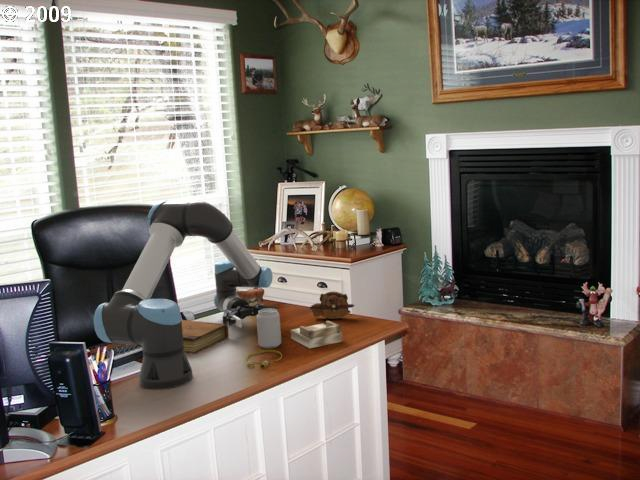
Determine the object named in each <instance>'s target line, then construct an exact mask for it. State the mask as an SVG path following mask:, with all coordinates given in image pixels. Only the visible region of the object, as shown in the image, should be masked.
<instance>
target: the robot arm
mask: <svg viewBox="0 0 640 480" xmlns="http://www.w3.org/2000/svg"><path fill="white" fill-rule="evenodd" d="M147 218H148V220H147V223H146V225H147V228H148V233H149V235H150V236H149V238H148V240H147V242H146V244H145V246H144V248H143V249H142V251H141V253H140V255H139V258H138V259H137V261H136V263H135V264H134V267H133V269H132V270H131V272H130V274H129V277H128V278H127V279H126V281H125V284H124V286H123V288H122V289H121V290H118V291H116V292H114V294H113V295H112V298H111V299H110V301H109V302H103V303H101V304H99V305H98V306H97V308H96V309H95V312H94V315H93V325H94V326H93V327H94V331H95V333H96V336H97V338H99V340H101V341H102V342H104V343H111V344H114V345H117V344H123V345H140V346H142V348H141V349H142V356H143V357H142V361H141V367H140V370H139V375H138V376H139V377H138V378H139V385H140V386H141V387H143V388H145V389H150V390H151V389H152V390H162V389H170V388H176V387H179V386H181V385H184V384H187V383H189V382H190V381H192V379H193V376H194V374H193V368H192V366H191V364H190V362H189V359H188V357H187V356H186V353H185V352H184V344H183V332H182V320H183V317H182V314H181V308H180V306H179V304H178V303H177V302H175V301H174V300H171V299H166V298H152V296H153V293H154V291H155V289H156V287H157V285H158V283H159V281H160V279H161V277H162V275H163V273H164V271H165V269H166V267H167V264H168V263H169V260H170V259H171V257H172V254H173V253H174V250H175V248H179V247H181V246H182V245H183V243H184V241H185V239H186V237H203V238H205V239H207V241H208V242H209V243H212V244H215V246H216V247H217V248H218V249H219V250H220V251H221V253H222V254H223V256H225V258H226V259H227V260H220V261H217V262H215V264H214V278H215V291H216V292H215V295H214V297H213V304H214V306H215V307H216V308H217V309H218V311H220V312H222V313H223V315H222V324H227V323H228V326H233V325H235V326H236V327H238V328H242V327H243V326H242V320H244V319H245V318H247V317H250V316H251V317H255V316H257V315H258V311H259V310H262V309H268V308H273V309H276V310H277V311H278V306H273V305H264V304H263V305H261V303H258V304H256V303H255V304H256V306H254V305H250V303H249V302H248V301H245V300H244V299H242V298H240V297H237V292H236V290H237V289H238V288H252V289H253V288H254V289H259V288H262V289H264V288H270V286H271V285H272V283H273V279H274V278H273V271H272V269H271V268H270V267H268V266H267V267H266V266H261V265H260V264H259V263H258V262H257V260H256V259H255V257H254V256H253V255H252V253H251V252H250V250H249V249H248V248H247V247H246V245H245V244H244V242H242V240H241V239H240V237H239V236H238V234H236V232H235V230H234V225H233V223H232V221H231V220H230V218H228V217H227V216H226V214H225V213H223V212H222V211H221V210H220V209H218V208H217V207H215V206H214V205H212V204H210V203H209V202H206V201H202V200H165V201H159V202H156V203H155V204H154V205H152V207H151V209H150V210H149V212H148V214H147ZM236 288H237V289H236Z"/></svg>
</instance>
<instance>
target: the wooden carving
mask: <svg viewBox="0 0 640 480" xmlns="http://www.w3.org/2000/svg"><path fill="white" fill-rule="evenodd" d="M348 298H349V297H348V295H347V293H343V292H339V291H336V290H335V291H328V292H325V293H321V294H320V296H319V301H320V303H318V302H317V303H316V302H315V303H314V304H311V305H310V306H309V310H311V312H312V314H313V315H312V316H313V317H314V318H319V317H321V316H322V317H323V318H325V319H329V320H337V319H340V318H344V317H345V316H347V315H348V314H351V313H352V312H351V310H349V309H350V308H353V307H355V304H353V303H348Z"/></svg>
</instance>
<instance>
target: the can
mask: <svg viewBox="0 0 640 480" xmlns="http://www.w3.org/2000/svg"><path fill="white" fill-rule="evenodd" d="M256 329H257V340H258V341H257V343H258V346H260V347H261V348H262V349H274V348H277V347H279V346H280V345H281V344H282V331H281V330H282V329H281V319H280V313H279V312H278V309H277V310H276V309H273V308H268V309H262V310H259V311H258V315H256Z"/></svg>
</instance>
